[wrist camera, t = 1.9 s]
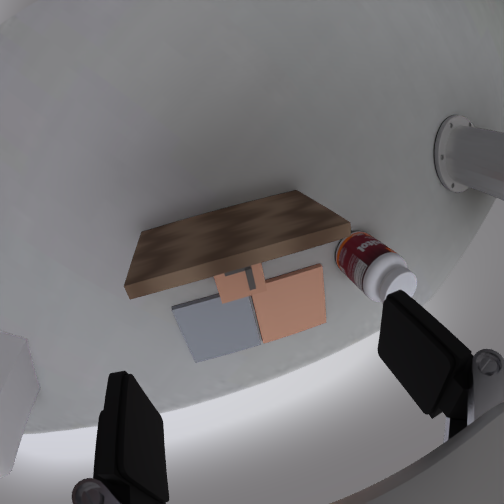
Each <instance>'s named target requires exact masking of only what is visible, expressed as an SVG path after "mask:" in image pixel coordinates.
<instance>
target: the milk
mask: <svg viewBox="0 0 504 504" xmlns="http://www.w3.org/2000/svg"><path fill="white" fill-rule="evenodd" d="M39 389H40V385H39V382H38V378H37V375H36V372H35V368H34V364H33V361H32V357H31V353H30V349H29V344H28V340H27V338H23V337H20V336H16V335H13V334H10V333H7V332H4V331H0V478H3V477H5V476H7V475H8V474H9V473H10V472H11V471H12V468H13V465H14V461H15V458H16V454H17V451H18V448H19V444H20V441H21V438H22V435H23V432H24V429H25V426H26V423H27V421H28V418H29V415H30V412H31V410H32V407H33V404H34V402H35V399H36V397H37V394H38V392H39Z"/></svg>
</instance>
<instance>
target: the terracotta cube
mask: <svg viewBox="0 0 504 504" xmlns="http://www.w3.org/2000/svg"><path fill="white" fill-rule="evenodd" d="M214 279H215V282H216V285H217V288H218V292H219V295H220V298H221V301H222V304H224V303H227V302H231V301H234V300H238V299H241V298H244V297H248V296H251V295H254V294H258V293H261V292H264V291H267V288H266V283H265V278H264V274H263V269H262V264H261V263H258V264H255V265H251V266H248V267H244V268H241V269H237V270H234V271H230V272H227V273H223V274H220V275H216V276H214Z"/></svg>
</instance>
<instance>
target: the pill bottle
mask: <svg viewBox="0 0 504 504" xmlns="http://www.w3.org/2000/svg"><path fill="white" fill-rule="evenodd" d="M336 263H337V265H338V267H339V268H340V270H341V271H342V272H343V273H344V274H345V275H346V276H347V277H348V278H349V279H350V280H351V281H352V282H353V283H354V284H355V285H356V286H357V287H358V288H359V289H360V290H361V291H362V292H363V293H364V294H365V295H366V296H368V297H369V298H370V299H371V300H373V301H376V302H382V303H383V302H384V300H386V296H387V295H388V294H390V293H393V292H395V291H398V290H403V291H404V292H406V293H407V294H408V295H409V296H410V297H411V298H412V296H413V294H414V292H415V290H416V287H417V278H416V276H415V274H414V273H413V272H411V271H410V270H409V269H408V267H407V263H406V261H405V260H404V258H403V257H402V256H400V255H399V254H397V253H396V252H394V251H393V250H392V249H390V248H389V247H387V246H386V245H384V244H383V243H381V242H380V241H378V240H377V239H375V238H374V237H372V236H371V235H369V234H367V233H365V232H362V231H356V232H353V233H351V236H350V237H347V238H343V240H342V241H341V242H340V243H339V245H338V248H337V251H336Z"/></svg>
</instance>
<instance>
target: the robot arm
mask: <svg viewBox="0 0 504 504" xmlns="http://www.w3.org/2000/svg"><path fill="white" fill-rule="evenodd" d="M435 165H436V170H437V174H438V176H439V178H440V180H441V182H442V184H443V185H444V186H445V187H446V188H447V189H449V190H451V191H453V192H459V193H460V192H463V191H465V190H467V189H468V188H469V187H470V188H473V189H476V190H479V191H481V192H484V193H486V194H489V195H491V196H494V197H496V198H499V199H502V200H504V133H502V132H497V131H492V130H487V129H481V128H475V126H474V125H473V123H472V122H471V121H470V120H469V119H468V118H466V117H464V116H460V115H453V116H450V117H449V118H447V119H446V120H445V121H444V122H443V124H442V125H441V127H440V129H439V132H438V134H437V138H436V143H435ZM378 354H379V356H380V358H381V359H382V360H383V362H384V363H385V364H386V365H387V367H388V368H389V369H390V370H391V371H392V373H393V374H394V375H395V377H396V378H397V379H398V380H399V382H400V383H401V384H402V386H403V387H404V388H405V389H406V390H407V392H408V393H409V395H410V396H411V397H412V398H413V400H414V401H415V402H416V404H417V405H418V406H419V407H420V409H421V410H422V411H423V413H425V414H429V415H430V417H431V418H432V419H433V418H434V417H436V416H437V415H438V414H440V413H442V412H443V413H444V414H445V415H446V424H445V435H444V442H443V444H442V445H440V446H439V447H438V448H436V449H435V450H433V451H432V452H430V453H429V454H427V455H426V456H424V457H422V458H421V459H419V460H418V461H416V462H414V463H413V464H411V465H409V466H407V467H406V468H404V469H402V470H400V471H399V472H397V473H395V474H393V475H391V476H389V477H388V478H386V479H384V480H382V481H380V482H378V483H376V484H374V485H372V486H370V487H368V488H366V489H363V490H361V491H359V492H357V493H355V494H352V495H350V496H348V497H345V498H343V499H340V500H338V501H335V502H333V503H330V504H504V359H503V357H502V356H501V355H500V354H499V353H498V352H496V351H494V350H491V349H482V350H480V351H478V352H477V353H476V354H475V355H474V356H473V355H472V354H471V351H470V350H469V349H468V348H467V347H466V346H465V345H464V344H463V343H462V342H461V341H459V340H458V338H456V337H455V336H454V335H453V334H452V333H451V332H450V331H449V330H448V329H447V328H446V327H444V326H443V325H442V324H441V323H440V322H439V321H438V320H437V319H436V318H434V317H433V316H432V315H431V314H430V313H429V312H428V311H426V310H425V309H424V308H423V307H422V306H421V305H420V304H418V303H417V302H416V301H415V300H414V299H413V298H411V297H410V296H409V295H408V294H407V293H406V292H404V291H403V290H398V291H395V292H393V293H390V294H388V295H387V296H386V300H384V302H383V311H382V320H381V329H380V337H379V344H378ZM168 501H169V491H168V482H167V472H166V460H165V447H164V429H163V420H162V418H161V415H160V414H159V413H158V411H157V410H156V408H155V407H154V406H153V404H152V403H151V401H150V400H149V399H148V397H147V396H146V394H145V393H144V391H143V390H142V388H141V387H140V385H139V384H138V382H137V381H136V379H135V378H134V376H133V375H132V374H128V373H127V372H126V371H121V372H115V373H110V374H109V378H108V384H107V390H106V396H105V403H104V410H103V411H101V413H100V416H99V422H98V430H97V440H96V450H95V460H94V475H93V478H87V479H83V480H82V481H79V482H78V483H77V484H76V485H75V487H74V489H73V491H72V502H73V504H166V502H168Z"/></svg>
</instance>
